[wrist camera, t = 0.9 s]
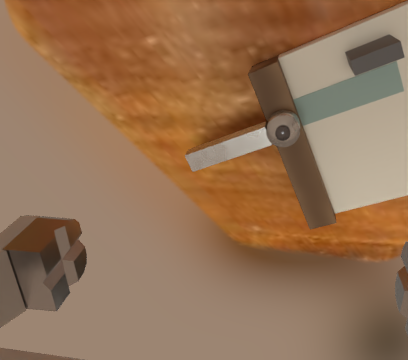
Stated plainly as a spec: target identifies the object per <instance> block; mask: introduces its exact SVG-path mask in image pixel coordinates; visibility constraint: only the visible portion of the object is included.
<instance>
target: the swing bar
mask: <svg viewBox="0 0 408 360" xmlns="http://www.w3.org/2000/svg"><path fill="white" fill-rule="evenodd" d="M299 135H300V121H299V118H298V117H297V115H296V114H295V113H293V112H292V111H289V110H279V111H276V112H275V113H273V114H272V115H271V116H270V118H269V120H268V124H267V122H266V121H265V122H263V123H260V124H257V125H254V126H252V127H249V128H246V129H243V130H241V131H238V132H235V133H232V134H229V135H227V136H224V137H221V138H218V139H216V140H213V141H210V142H207V143H205V144H202V145H199V146H196V147H194V148H191V149H189V150H188V151H187V153H186V155H185V157H186V159H187V161H188V163H189V165H190V167H191V169H192V171H196V170H199V169H202V168H205V167H208V166H211V165H214V164H217V163H220V162H223V161H226V160H229V159H232V158H235V157H238V156H241V155H244V154H247V153H250V152H253V151H256V150H259V149H262V148H265V147H268V146H271V145H272V144H273V145H275V146H278V147H288V146H291V145H292V144H294V143H295V142H296V141H297V139H298V138H299Z"/></svg>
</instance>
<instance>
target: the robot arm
mask: <svg viewBox="0 0 408 360" xmlns="http://www.w3.org/2000/svg"><path fill="white" fill-rule="evenodd" d="M81 234H82V231H81V228H80V224H79V222H78V221H76V220H75V219H67V218H55V217H44V216H42V217H41V216H29V215H26V216H20V217H19V218H18V219H17V220H16V221H14V222H13V223H12V224H11V225H10V226H8V227H7V228H6V229H5V230H4V231H3V232H1V233H0V328H1V327H2V326H4V325H5V324H7V323H8V322H10V321H11V320H13V319H14V318H15V317H17V316H19V315H20V314H21V313H23V312H24V311H26V309H36V310H48V311H57V310H58V309H59V307H60V306H61V305H62V303H63V302H64V300H65V299H66V297H67V296H68V295H69V293H70V291H69V286H70V285H72V284H74V283H76V282H77V281H79V279H80V278H81V276H82V275H83V273H84V270H85V267H86V263H87V259H86V258H87V254H86V249H85V246H84V245H83V244H82V243H81V242H80V241H79V240H78V239H79V237H80V236H81ZM401 258H402V260H403V263H404V265H405V266H404V267H403V268H402V269H401V270H399V271H398V272H397V278H396V284H395V293H396V294H395V296H396V301H397V305H398V309H399V312H400V313H401V314H402V315H403V316H404V317H406V318H407V323H406V327H405V329H406V332H407V335H408V242H406V243H405V245H404V246H403V250H402V254H401ZM0 360H83V359H75V358H69V357H62V356H54V355H47V354H41V353H33V352H27V351H19V350H12V349H5V348H0Z"/></svg>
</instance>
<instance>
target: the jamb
mask: <svg viewBox="0 0 408 360" xmlns="http://www.w3.org/2000/svg"><path fill="white" fill-rule="evenodd" d="M278 57H279V55H278V56H275V57H273V58H271V59H268V60H266V61H264V62H261V63H259V64H256V65H254V66H252V68H251V70H250V72H249V73H248V75H249V78H250V80H251V83H252V85H253V88H254V90H255V93H256V95H257V98H258V100H259V103H260V105H261V108H262V110H263V113H264V115H265V118H266V120H267V123H268V120H269V118H270V116H271V115H272V114H273V113H275V112H276V111H279V110H289V111H292V112H293V113H295V114H296V115H297V117H298V118H299V121H300V135H299V138H298V139H297V141H296V142H295V143H294V144H292V145H291V146H288V147H278V146H277V148H278V150H279V153H280V155H281V158H282V160H283V163H284V165H285V168H286V170H287V173H288V175H289V178H290V181H291V183H292V186H293V188H294V191H295V193H296V196H297V198H298V201H299V203H300V206H301V208H302V211H303V213H304V216H305V218H306V221H307V223H308V226H309V228H310V229H313V228H318V227H322V226H326V225H330V224H334V223H336V217H335V212H334V210H333V207H332V204H331V201H330V199H329V196H328V193H327V190H326V188H325V185H324V182H323V179H322V177H321V174H320V171H319V169H318V166H317V163H316V160H315V158H314V155H313V152H312V149H311V147H310V144H309V141H308V138H307V136H306V133H305V130H304V128H303V125H302V123H301V120H300V117H299V114H298V112H297V109H296V106H295V103H294V101H293V97H292V95H291V92H290V89H289V87H288V84H287V81H286V78H285V76H284V73H283V70H282V67H281V65H280V62H279V59H278Z"/></svg>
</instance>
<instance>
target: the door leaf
mask: <svg viewBox="0 0 408 360" xmlns="http://www.w3.org/2000/svg"><path fill="white" fill-rule="evenodd" d="M278 59H279V62H280V65H281V67H282V70H283V73H284V76H285V78H286V81H287V84H288V87H289V89H290V92H291V95H292V97H293V101H294V103H295V106H296V109H297V112H298V114H299V117H300V120H301V123H302V125H303V128H304V130H305V133H306V136H307V138H308V141H309V144H310V147H311V149H312V152H313V155H314V158H315V160H316V163H317V166H318V169H319V171H320V174H321V177H322V179H323V182H324V185H325V188H326V190H327V193H328V196H329V199H330V201H331V204H332V207H333V210H334V212H335V213H339V212H343V211H347V210H351V209H355V208H359V207H363V206H367V205H371V204H375V203H379V202H383V201H387V200H391V199H395V198H399V197H403V196H407V195H408V1H405V2H403V3H400V4H398V5H396V6H393V7H391V8H389V9H386V10H384V11H382V12H379V13H377V14H374V15H372V16H370V17H367V18H365V19H363V20H360V21H358V22H356V23H353V24H351V25H349V26H346V27H344V28H341V29H339V30H337V31H334V32H332V33H330V34H327V35H325V36H323V37H320V38H318V39H315V40H313V41H311V42H308V43H306V44H304V45H301V46H299V47H297V48H294V49H292V50H290V51H287V52H285V53H282V54H280V55H279V57H278Z"/></svg>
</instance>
